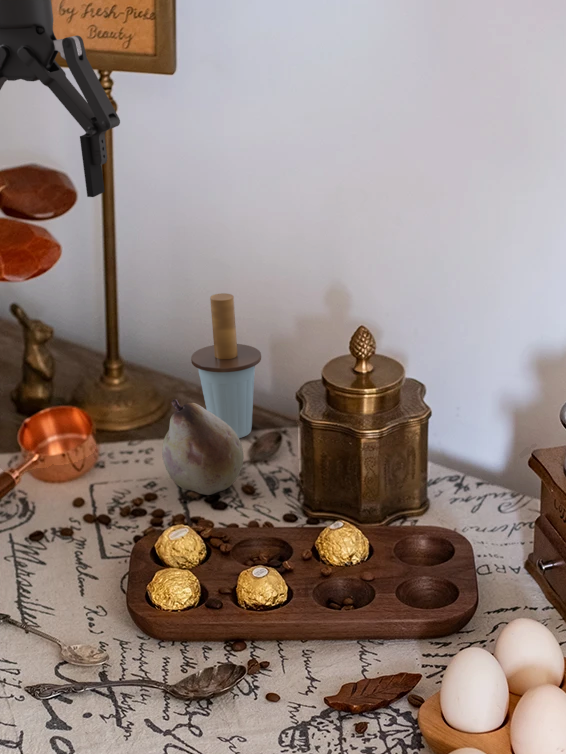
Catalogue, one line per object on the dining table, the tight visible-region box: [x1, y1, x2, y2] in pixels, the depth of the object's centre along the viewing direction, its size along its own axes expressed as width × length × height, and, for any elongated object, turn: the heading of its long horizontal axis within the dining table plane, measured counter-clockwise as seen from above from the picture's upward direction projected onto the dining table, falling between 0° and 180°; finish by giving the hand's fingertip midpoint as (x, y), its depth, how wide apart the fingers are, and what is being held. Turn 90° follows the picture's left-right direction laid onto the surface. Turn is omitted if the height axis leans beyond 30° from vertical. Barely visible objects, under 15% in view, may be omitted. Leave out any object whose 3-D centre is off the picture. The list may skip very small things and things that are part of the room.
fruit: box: [161, 398, 245, 496], centre depth 134 cm, size 10×9×12 cm
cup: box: [197, 365, 256, 439], centre depth 149 cm, size 8×8×10 cm
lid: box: [190, 292, 262, 372], centre depth 144 cm, size 9×9×9 cm
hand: (41, 191), depth 126 cm, fingers open, 13 cm apart
